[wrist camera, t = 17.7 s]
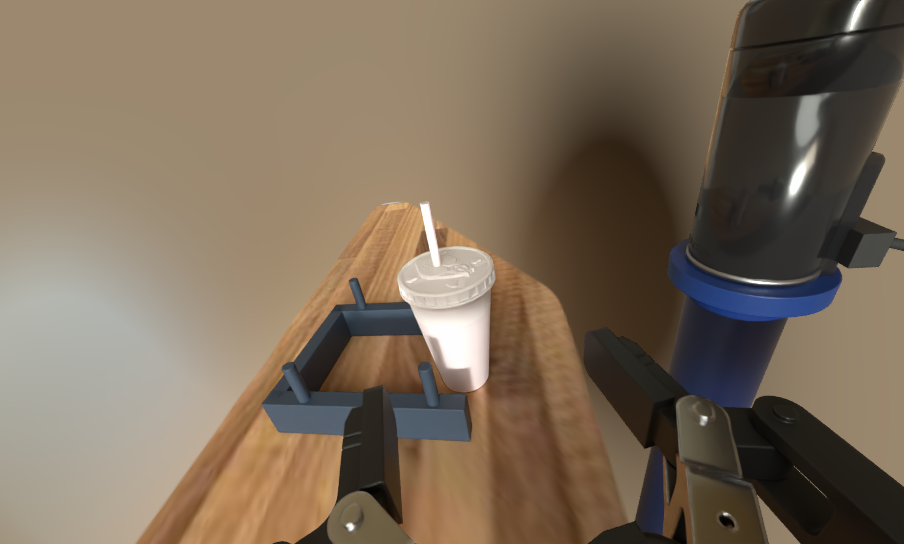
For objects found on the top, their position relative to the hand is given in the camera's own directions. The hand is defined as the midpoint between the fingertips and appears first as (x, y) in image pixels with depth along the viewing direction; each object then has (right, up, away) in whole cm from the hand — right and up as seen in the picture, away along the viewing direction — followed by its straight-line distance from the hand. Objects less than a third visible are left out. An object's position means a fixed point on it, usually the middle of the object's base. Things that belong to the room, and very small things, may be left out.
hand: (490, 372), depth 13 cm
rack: (-6, -4, +15) cm, 17 cm away
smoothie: (0, -4, +14) cm, 14 cm away
